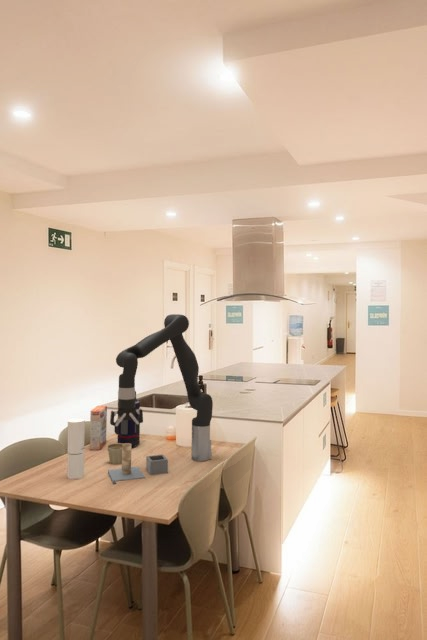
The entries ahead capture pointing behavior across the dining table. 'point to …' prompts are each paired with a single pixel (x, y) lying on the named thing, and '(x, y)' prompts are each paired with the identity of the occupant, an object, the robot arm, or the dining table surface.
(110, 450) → the flower pot
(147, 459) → the grey open box
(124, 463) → the dowel
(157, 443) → the dining table surface
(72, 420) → the cylindrical container
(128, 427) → the grenade
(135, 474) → the board
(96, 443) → the cracker box
